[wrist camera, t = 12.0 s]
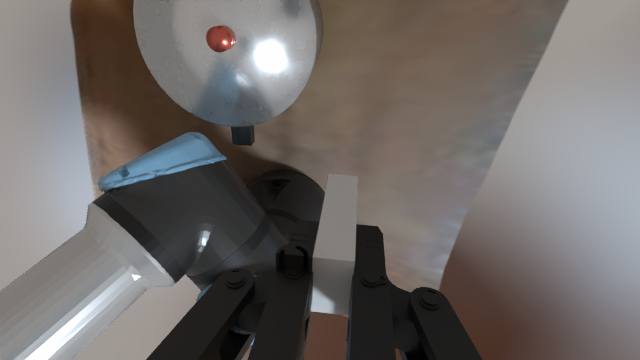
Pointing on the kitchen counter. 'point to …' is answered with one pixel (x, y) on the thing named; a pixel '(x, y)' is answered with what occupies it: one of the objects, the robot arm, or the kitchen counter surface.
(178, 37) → the lid
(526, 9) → the kitchen counter surface
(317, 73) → the kitchen counter surface
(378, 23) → the kitchen counter surface
